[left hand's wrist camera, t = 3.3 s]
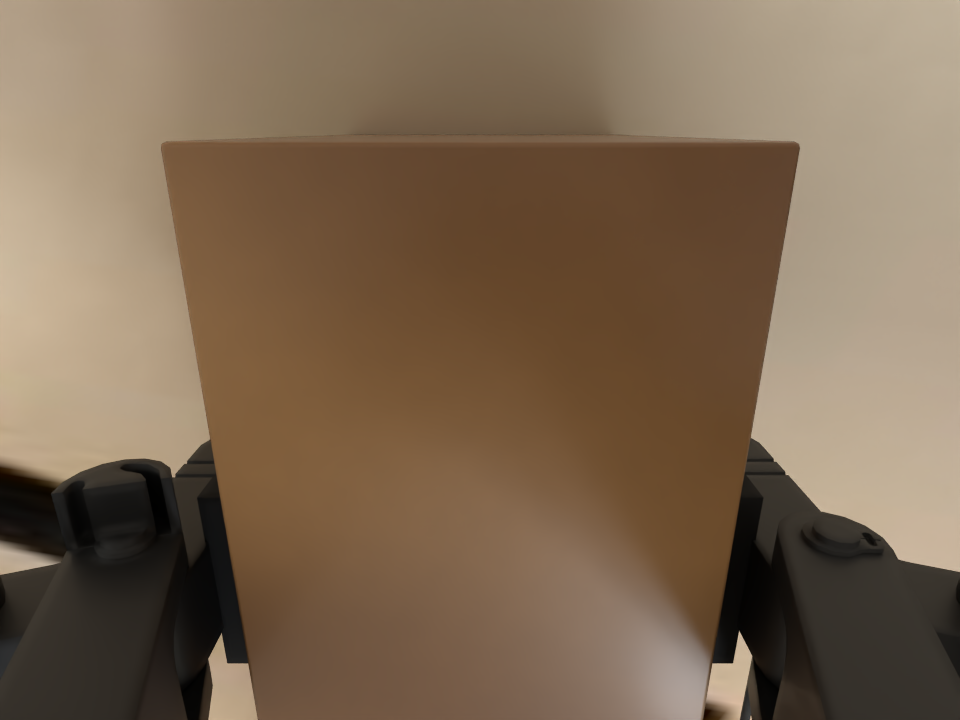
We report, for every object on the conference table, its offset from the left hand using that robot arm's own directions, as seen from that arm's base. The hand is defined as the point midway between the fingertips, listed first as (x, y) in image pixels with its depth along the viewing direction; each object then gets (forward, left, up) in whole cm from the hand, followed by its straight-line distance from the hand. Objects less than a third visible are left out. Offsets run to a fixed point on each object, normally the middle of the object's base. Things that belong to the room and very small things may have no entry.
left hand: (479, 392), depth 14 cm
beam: (+16, +28, -1) cm, 32 cm away
